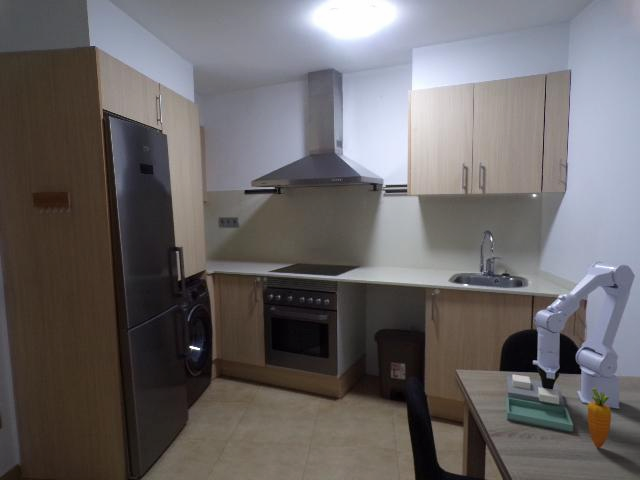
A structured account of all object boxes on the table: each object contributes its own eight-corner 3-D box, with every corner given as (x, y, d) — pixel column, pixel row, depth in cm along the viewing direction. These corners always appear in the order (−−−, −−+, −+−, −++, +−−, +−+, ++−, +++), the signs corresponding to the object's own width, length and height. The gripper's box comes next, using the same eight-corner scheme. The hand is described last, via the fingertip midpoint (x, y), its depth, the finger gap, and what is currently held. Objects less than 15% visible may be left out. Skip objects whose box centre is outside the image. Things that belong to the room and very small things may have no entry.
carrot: (614, 455, 91) (616, 396, 90) (591, 452, 92) (593, 394, 91) (603, 443, 96) (605, 386, 95) (582, 440, 97) (583, 385, 96)
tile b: (529, 382, 123) (529, 376, 123) (530, 389, 118) (530, 383, 118) (512, 380, 125) (512, 374, 125) (512, 386, 121) (512, 380, 121)
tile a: (556, 396, 113) (556, 390, 113) (558, 404, 109) (559, 397, 109) (537, 393, 116) (538, 387, 115) (539, 400, 111) (539, 394, 111)
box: (566, 415, 109) (566, 407, 109) (572, 433, 100) (573, 425, 100) (506, 403, 116) (506, 397, 116) (507, 419, 107) (507, 412, 107)
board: (557, 393, 122) (557, 383, 122) (564, 413, 111) (564, 401, 110) (506, 385, 129) (507, 375, 128) (507, 402, 117) (508, 392, 117)
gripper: (531, 340, 123) (530, 380, 124) (535, 355, 110) (534, 399, 111) (556, 343, 120) (555, 384, 121) (563, 359, 107) (562, 404, 108)
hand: (547, 392), depth 115 cm, fingers closed
